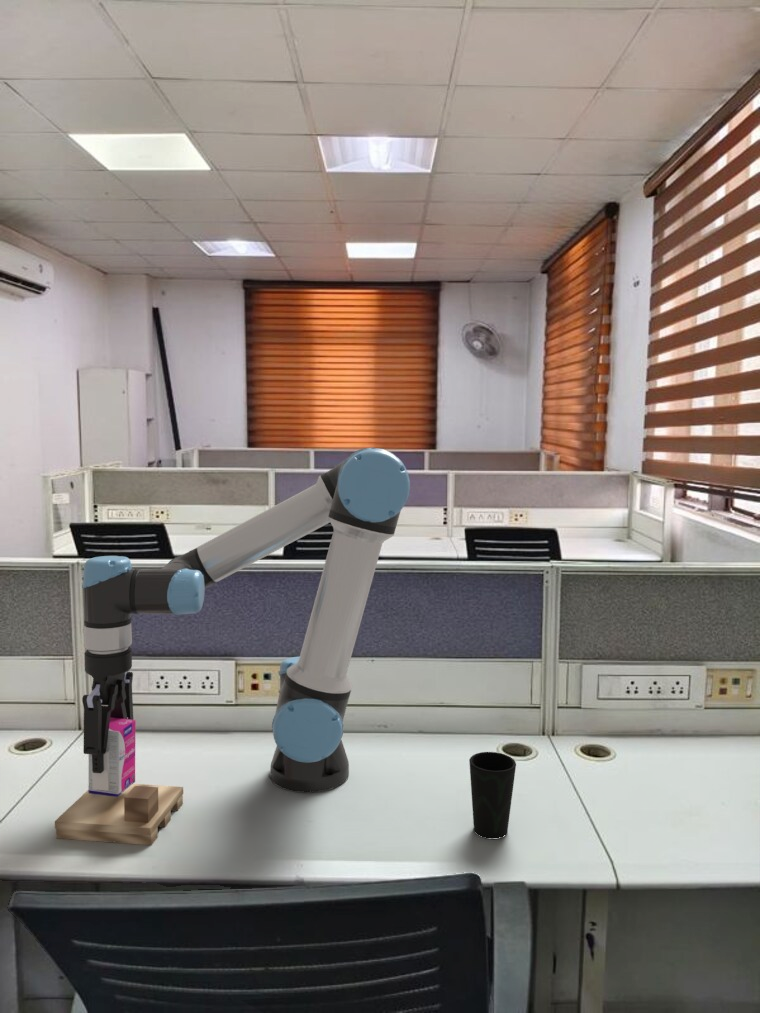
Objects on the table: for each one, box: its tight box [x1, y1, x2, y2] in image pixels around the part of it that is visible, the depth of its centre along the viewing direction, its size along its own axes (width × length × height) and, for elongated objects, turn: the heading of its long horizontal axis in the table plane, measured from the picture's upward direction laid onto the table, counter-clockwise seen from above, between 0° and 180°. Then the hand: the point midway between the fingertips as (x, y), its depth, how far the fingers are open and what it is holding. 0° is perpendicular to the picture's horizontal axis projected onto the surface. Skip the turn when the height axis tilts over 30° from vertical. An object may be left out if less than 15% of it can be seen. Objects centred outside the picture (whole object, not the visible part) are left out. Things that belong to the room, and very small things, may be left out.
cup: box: [469, 751, 517, 839], centre depth 122 cm, size 8×8×12 cm
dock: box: [54, 783, 184, 846], centre depth 124 cm, size 16×14×3 cm
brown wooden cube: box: [124, 786, 158, 823], centre depth 120 cm, size 4×4×4 cm
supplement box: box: [87, 717, 137, 797], centre depth 125 cm, size 6×6×12 cm
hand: (110, 779), depth 126 cm, fingers closed on supplement box, 6 cm apart
